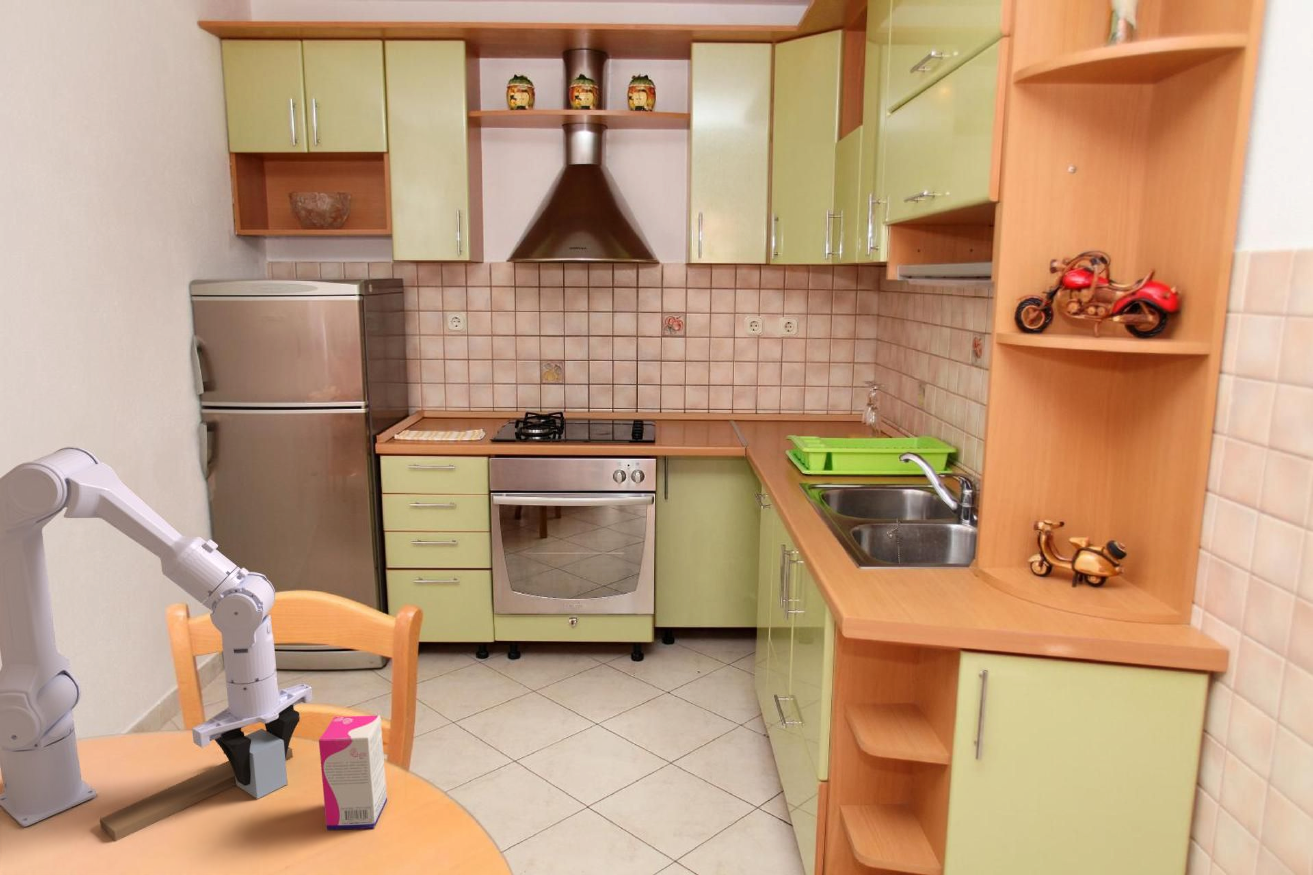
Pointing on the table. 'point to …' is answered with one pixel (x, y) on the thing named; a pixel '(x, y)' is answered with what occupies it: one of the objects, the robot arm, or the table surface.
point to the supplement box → (353, 772)
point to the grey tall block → (265, 764)
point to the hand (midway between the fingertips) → (261, 773)
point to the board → (170, 800)
